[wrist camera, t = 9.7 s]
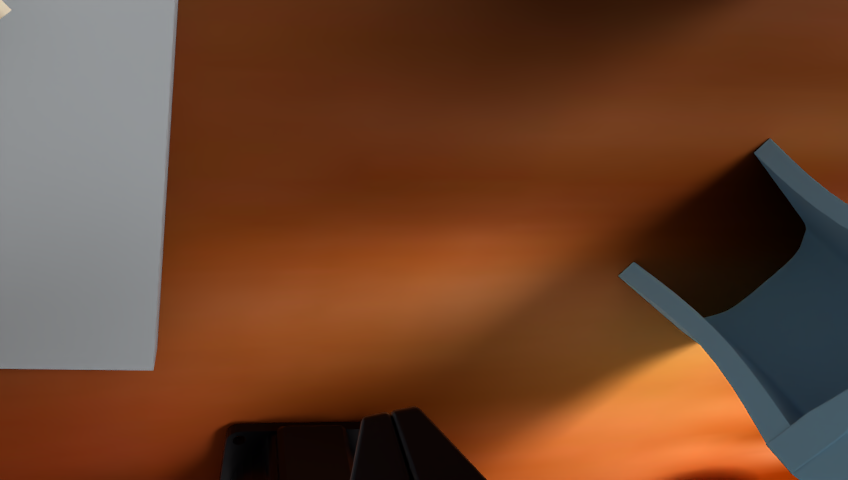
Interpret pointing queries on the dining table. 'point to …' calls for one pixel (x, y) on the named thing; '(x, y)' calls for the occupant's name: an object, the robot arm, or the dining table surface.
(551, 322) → the dining table surface
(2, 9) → the flange plate
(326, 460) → the robot arm
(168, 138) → the board
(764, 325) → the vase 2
